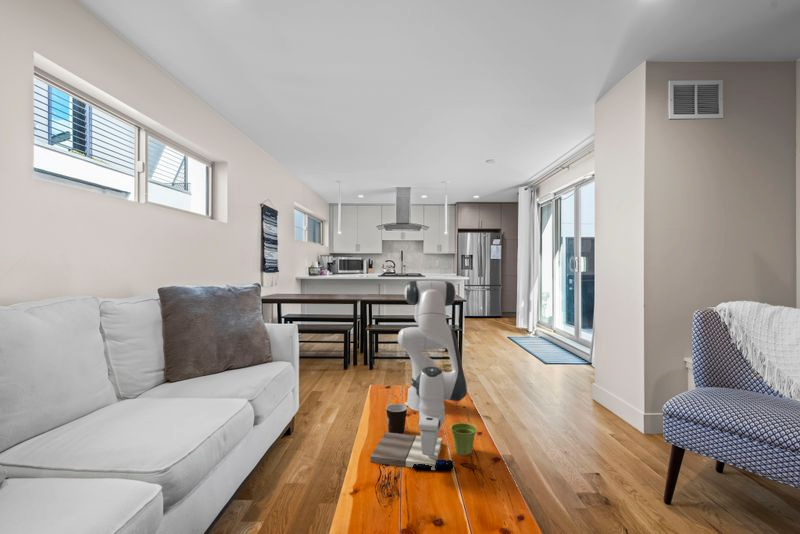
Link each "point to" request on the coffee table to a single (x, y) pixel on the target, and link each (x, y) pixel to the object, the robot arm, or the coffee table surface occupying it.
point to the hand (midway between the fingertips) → (431, 456)
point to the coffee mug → (396, 418)
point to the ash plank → (417, 456)
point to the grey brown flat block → (393, 449)
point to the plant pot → (463, 437)
